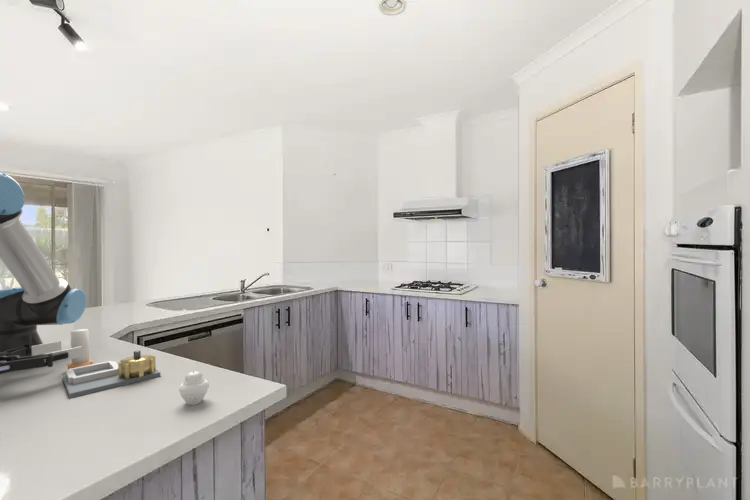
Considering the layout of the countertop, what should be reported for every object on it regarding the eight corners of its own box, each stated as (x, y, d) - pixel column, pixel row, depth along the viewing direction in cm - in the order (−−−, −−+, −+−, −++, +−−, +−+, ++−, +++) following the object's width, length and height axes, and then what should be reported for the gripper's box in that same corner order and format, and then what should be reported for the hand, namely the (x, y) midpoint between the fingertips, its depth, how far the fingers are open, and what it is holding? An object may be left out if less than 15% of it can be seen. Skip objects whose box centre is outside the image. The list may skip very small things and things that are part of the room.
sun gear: (115, 373, 97) (115, 352, 97) (151, 366, 103) (150, 345, 103) (122, 381, 91) (121, 358, 91) (159, 372, 97) (158, 351, 97)
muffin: (173, 408, 78) (172, 376, 77) (189, 396, 84) (188, 366, 84) (200, 408, 77) (199, 376, 77) (214, 396, 83) (214, 366, 83)
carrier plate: (62, 379, 97) (62, 370, 97) (143, 362, 110) (143, 354, 110) (69, 397, 84) (69, 387, 84) (160, 375, 98) (160, 366, 98)
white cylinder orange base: (67, 369, 105) (66, 330, 105) (91, 364, 109) (90, 327, 109) (69, 374, 101) (68, 333, 101) (94, 368, 105) (93, 330, 105)
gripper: (-55, 378, 90) (53, 355, 109) (-25, 397, 78) (91, 367, 96) (-55, 349, 90) (52, 330, 108) (-26, 363, 78) (90, 340, 96)
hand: (70, 348), depth 102 cm, fingers open, 13 cm apart
